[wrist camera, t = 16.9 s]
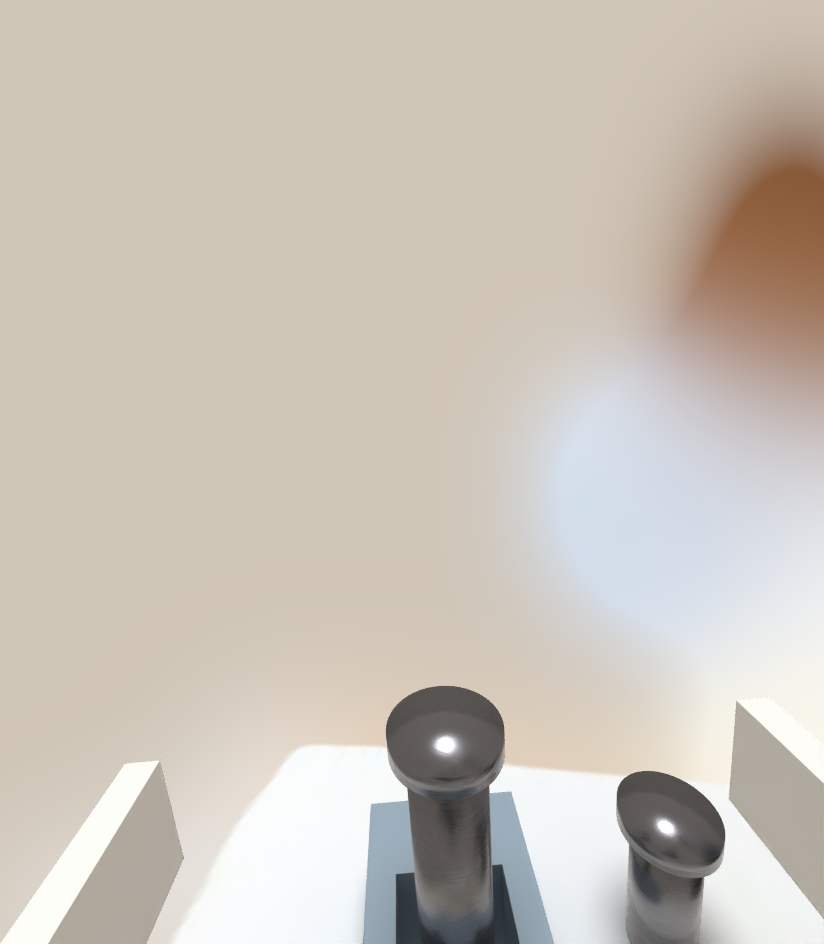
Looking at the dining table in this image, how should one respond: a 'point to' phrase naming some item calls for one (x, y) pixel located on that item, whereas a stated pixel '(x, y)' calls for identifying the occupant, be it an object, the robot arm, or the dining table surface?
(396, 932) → the guide block
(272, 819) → the dining table surface
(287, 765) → the dining table surface
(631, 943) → the short pin
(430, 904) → the tall pin
